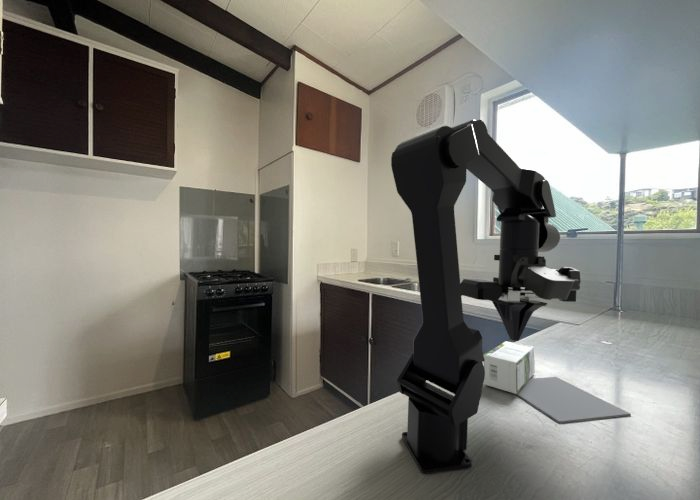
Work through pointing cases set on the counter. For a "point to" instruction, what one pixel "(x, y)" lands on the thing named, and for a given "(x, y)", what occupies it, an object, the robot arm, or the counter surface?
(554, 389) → the mat
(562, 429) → the counter surface
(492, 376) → the syrup box
